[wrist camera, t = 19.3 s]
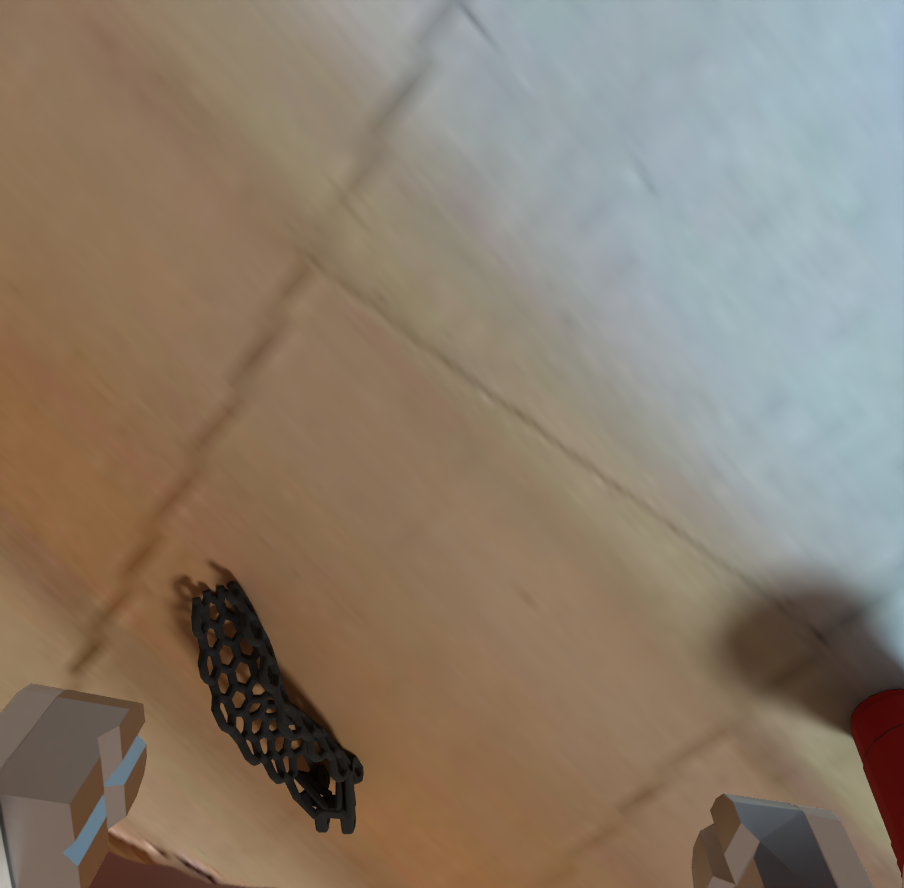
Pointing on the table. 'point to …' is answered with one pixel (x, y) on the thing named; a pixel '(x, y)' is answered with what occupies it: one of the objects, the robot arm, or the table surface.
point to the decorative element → (317, 779)
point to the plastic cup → (884, 759)
